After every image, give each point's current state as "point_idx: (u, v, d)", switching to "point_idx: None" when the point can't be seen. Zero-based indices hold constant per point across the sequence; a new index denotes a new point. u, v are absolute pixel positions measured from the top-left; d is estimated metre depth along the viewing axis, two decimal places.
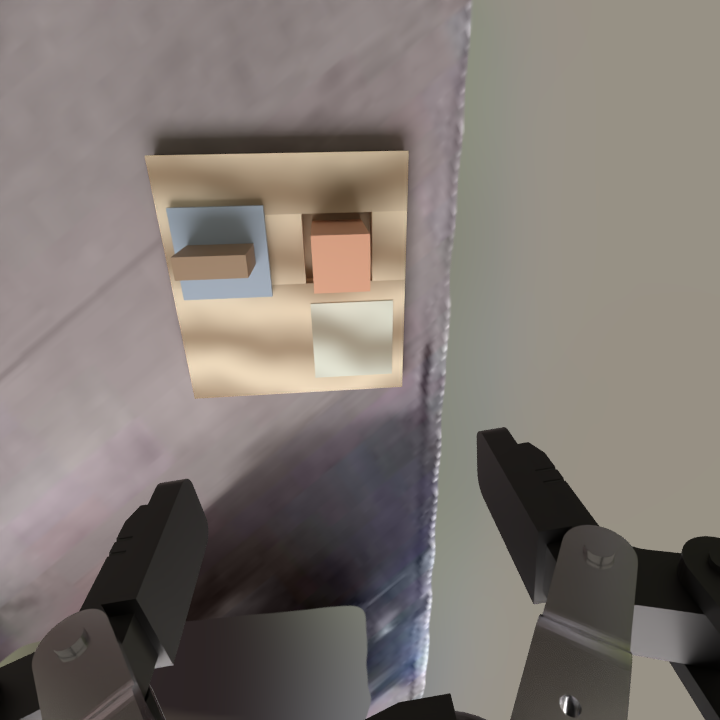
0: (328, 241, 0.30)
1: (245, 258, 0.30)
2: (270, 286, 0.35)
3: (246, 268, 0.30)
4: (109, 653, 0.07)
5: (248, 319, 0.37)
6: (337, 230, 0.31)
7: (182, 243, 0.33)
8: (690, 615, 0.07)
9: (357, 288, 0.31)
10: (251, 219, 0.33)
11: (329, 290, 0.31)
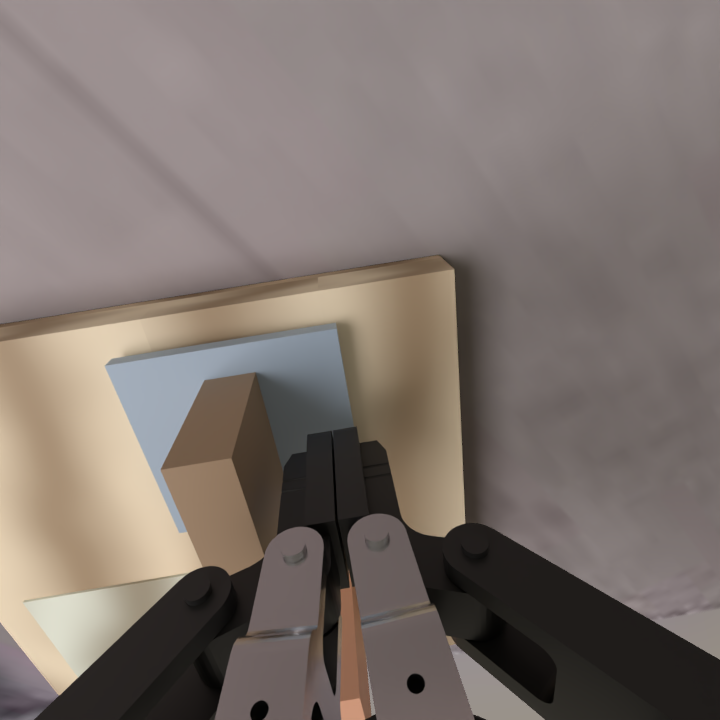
0: None
1: None
2: None
3: None
4: (312, 582, 0.08)
5: (116, 478, 0.16)
6: (362, 670, 0.16)
7: (257, 362, 0.13)
8: (442, 592, 0.08)
9: None
10: None
11: None
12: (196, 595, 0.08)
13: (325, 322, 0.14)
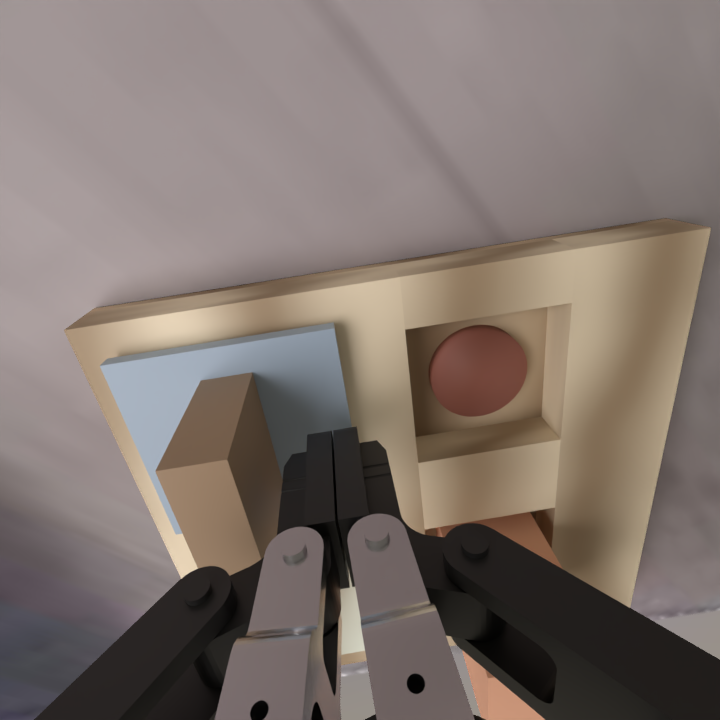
0: None
1: None
2: None
3: None
4: (312, 582, 0.08)
5: None
6: None
7: (254, 362, 0.13)
8: (442, 592, 0.08)
9: None
10: None
11: (493, 696, 0.14)
12: (196, 595, 0.08)
13: (575, 282, 0.14)
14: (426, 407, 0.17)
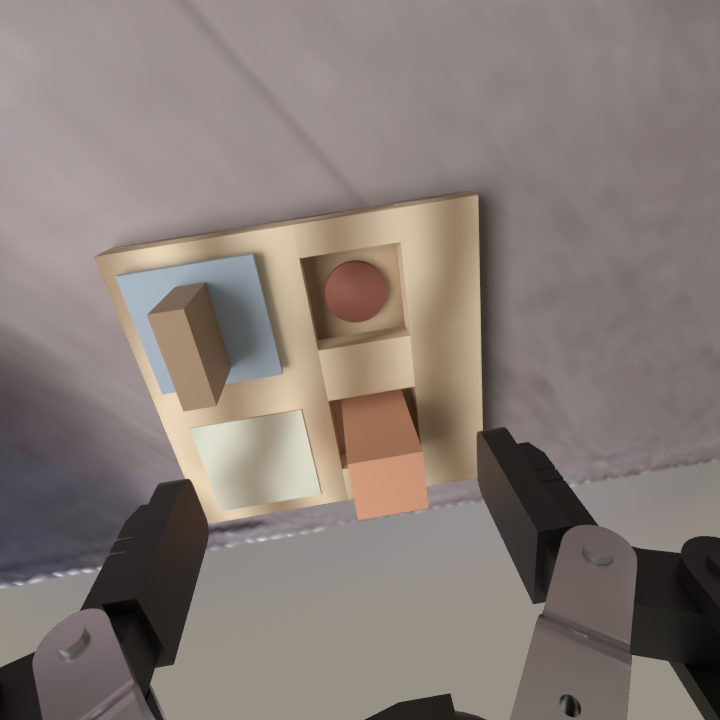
0: (416, 470, 0.24)
1: (211, 405, 0.21)
2: (176, 390, 0.25)
3: (197, 407, 0.21)
4: (109, 653, 0.07)
5: None
6: None
7: (206, 275, 0.23)
8: (689, 615, 0.07)
9: (360, 507, 0.24)
10: (262, 362, 0.25)
11: (353, 479, 0.23)
12: None
13: (400, 228, 0.23)
14: (326, 317, 0.27)
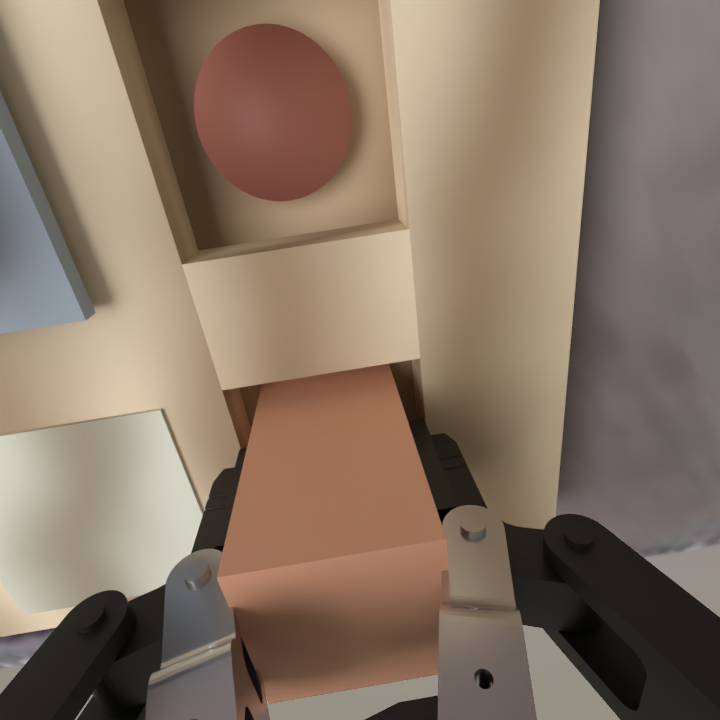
0: (427, 587, 0.08)
1: None
2: None
3: None
4: (222, 597, 0.08)
5: None
6: None
7: None
8: (546, 583, 0.08)
9: (270, 676, 0.09)
10: (24, 286, 0.10)
11: (243, 615, 0.08)
12: (90, 621, 0.08)
13: None
14: (213, 193, 0.11)
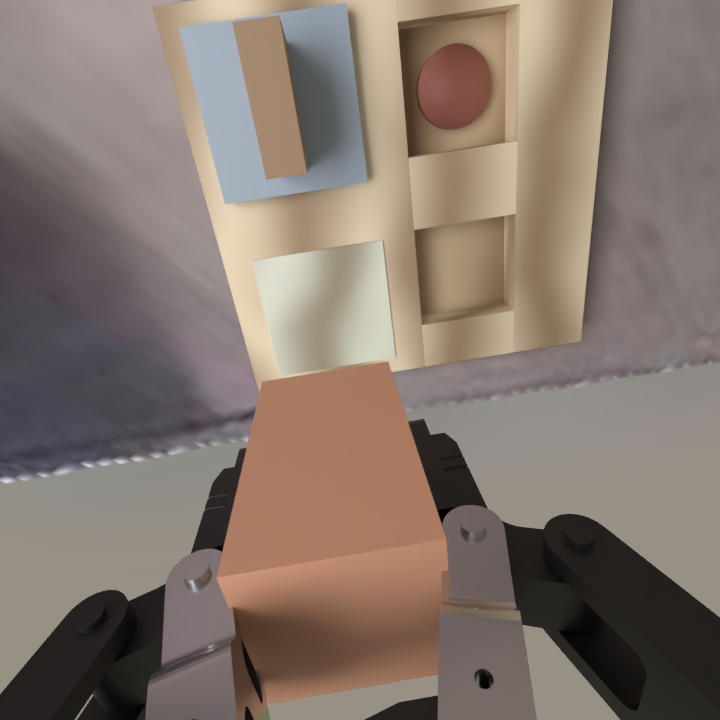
0: (427, 587, 0.08)
1: (300, 173, 0.17)
2: (241, 200, 0.21)
3: (282, 175, 0.17)
4: (222, 597, 0.08)
5: None
6: None
7: (288, 32, 0.19)
8: (546, 583, 0.08)
9: (270, 676, 0.09)
10: (345, 163, 0.21)
11: (243, 615, 0.08)
12: (90, 621, 0.08)
13: None
14: (415, 126, 0.23)
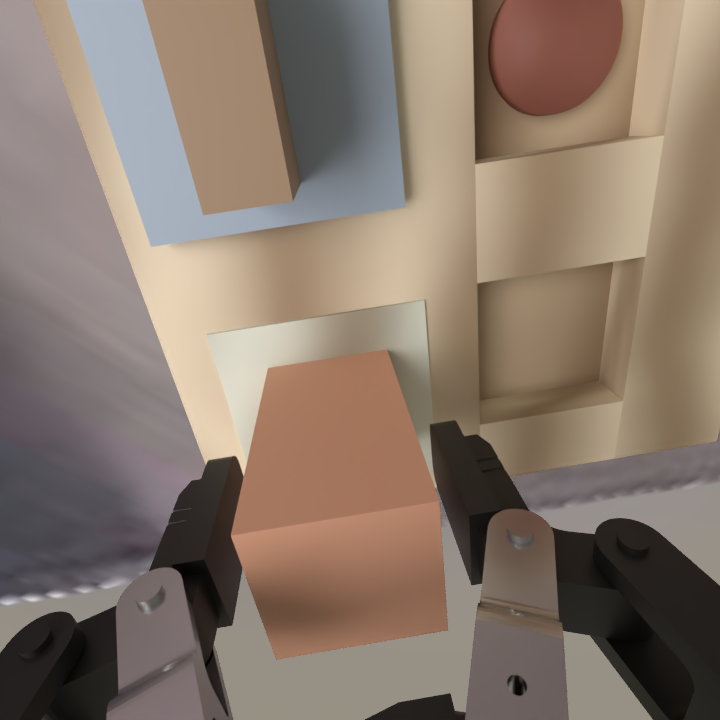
0: (422, 547, 0.09)
1: (278, 200, 0.08)
2: (181, 239, 0.12)
3: (239, 205, 0.08)
4: (179, 614, 0.08)
5: None
6: None
7: None
8: (599, 590, 0.08)
9: (278, 632, 0.10)
10: (366, 174, 0.12)
11: (253, 572, 0.09)
12: (35, 645, 0.08)
13: None
14: (483, 109, 0.13)
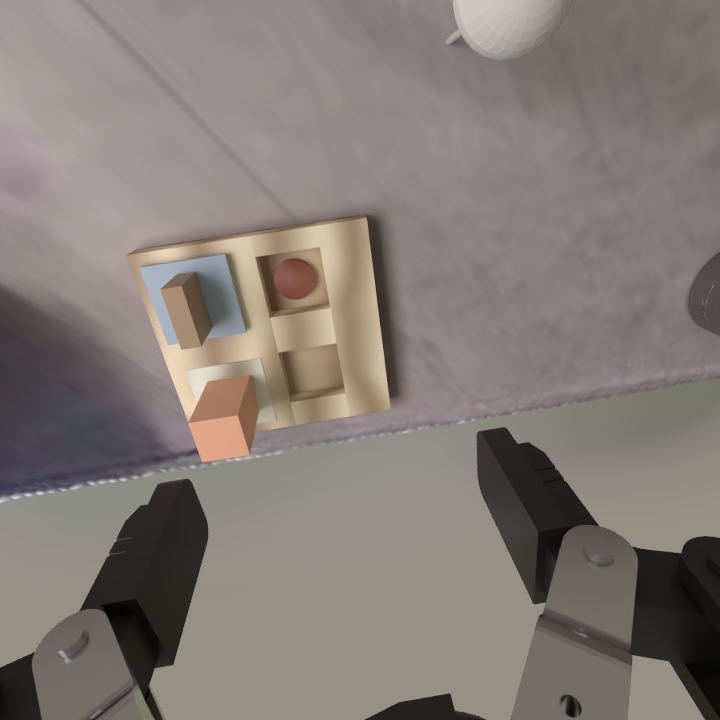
0: (236, 428, 0.36)
1: (198, 346, 0.35)
2: (176, 342, 0.39)
3: (189, 347, 0.35)
4: (109, 653, 0.07)
5: None
6: (246, 421, 0.38)
7: (196, 267, 0.36)
8: (690, 615, 0.07)
9: (202, 453, 0.37)
10: (232, 324, 0.39)
11: (194, 433, 0.36)
12: None
13: (318, 238, 0.37)
14: (276, 296, 0.40)
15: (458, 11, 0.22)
